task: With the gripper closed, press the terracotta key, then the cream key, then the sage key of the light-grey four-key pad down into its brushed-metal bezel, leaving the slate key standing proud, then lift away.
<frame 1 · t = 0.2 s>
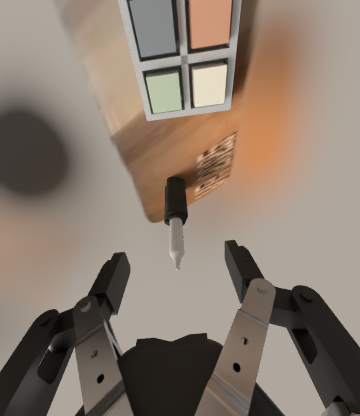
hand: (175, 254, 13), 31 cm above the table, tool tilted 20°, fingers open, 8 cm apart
key slate: (155, 28, 21), point 5 cm above the table, slide at 0.0 cm
key terracotta: (208, 19, 21), point 5 cm above the table, slide at 0.0 cm
key cream: (208, 85, 26), point 5 cm above the table, slide at 0.0 cm
keypad: (182, 56, 27), on the table
key sage: (165, 91, 27), point 5 cm above the table, slide at 0.0 cm
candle: (174, 184, 48), on the table
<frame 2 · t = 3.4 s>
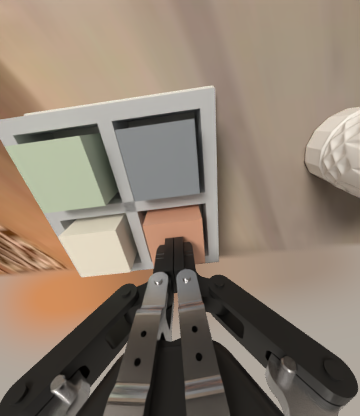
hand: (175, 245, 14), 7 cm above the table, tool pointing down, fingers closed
white cup: (335, 145, 17), on the table
key slate: (163, 159, 12), point 5 cm above the table, slide at 0.0 cm
key terracotta: (176, 234, 16), point 5 cm above the table, slide at 0.1 cm, touching gripper
key cream: (104, 243, 16), point 5 cm above the table, slide at 0.0 cm
keypad: (141, 187, 18), on the table
key sage: (73, 172, 13), point 5 cm above the table, slide at 0.0 cm
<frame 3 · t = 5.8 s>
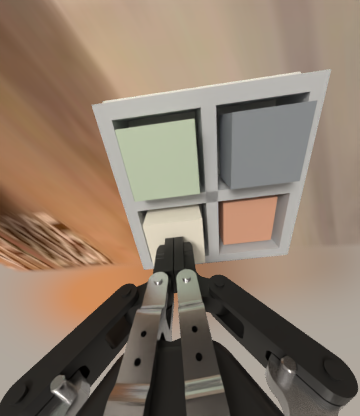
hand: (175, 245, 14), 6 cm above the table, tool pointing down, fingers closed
key slate: (257, 146, 12), point 5 cm above the table, slide at 0.0 cm
key terracotta: (242, 214, 17), point 3 cm above the table, slide at 2.3 cm
key cream: (176, 234, 16), point 5 cm above the table, slide at 0.1 cm, touching gripper
keypad: (203, 178, 18), on the table
key sage: (163, 159, 12), point 5 cm above the table, slide at 0.0 cm
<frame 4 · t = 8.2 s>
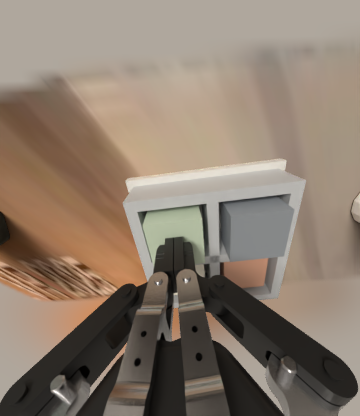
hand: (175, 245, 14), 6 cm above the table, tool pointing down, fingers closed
key slate: (251, 226, 15), point 5 cm above the table, slide at 0.0 cm
key terracotta: (240, 263, 20), point 3 cm above the table, slide at 2.3 cm
key cream: (184, 269, 21), point 3 cm above the table, slide at 2.2 cm
keypad: (206, 231, 21), on the table
key sage: (176, 234, 16), point 5 cm above the table, slide at 0.2 cm, touching gripper
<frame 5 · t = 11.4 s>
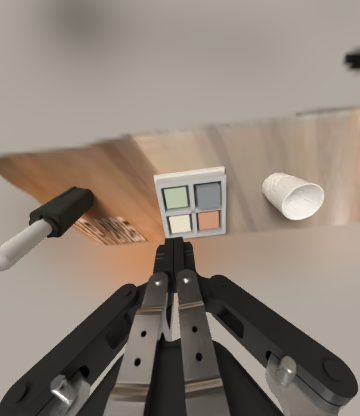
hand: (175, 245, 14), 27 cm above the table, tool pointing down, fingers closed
white cup: (274, 185, 41), on the table
key slate: (207, 195, 36), point 5 cm above the table, slide at 0.0 cm
key terracotta: (207, 217, 41), point 3 cm above the table, slide at 2.3 cm
key cream: (180, 220, 41), point 3 cm above the table, slide at 2.2 cm
keypad: (191, 202, 42), on the table
key sage: (176, 195, 38), point 3 cm above the table, slide at 2.2 cm
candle: (82, 196, 41), on the table
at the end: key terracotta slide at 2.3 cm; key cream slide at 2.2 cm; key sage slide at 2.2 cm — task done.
